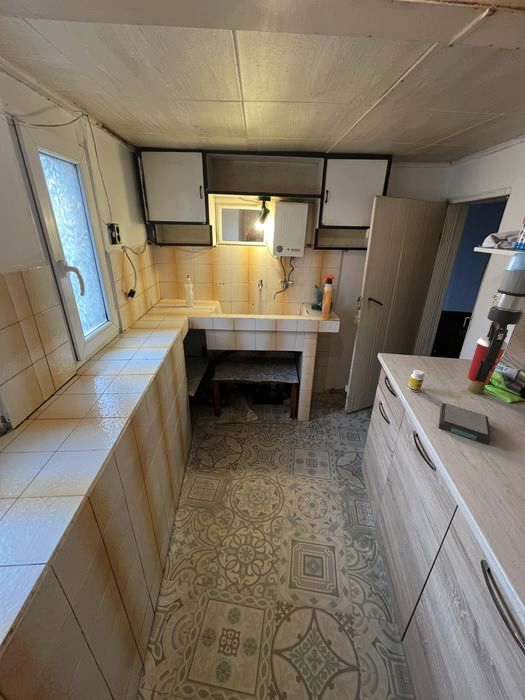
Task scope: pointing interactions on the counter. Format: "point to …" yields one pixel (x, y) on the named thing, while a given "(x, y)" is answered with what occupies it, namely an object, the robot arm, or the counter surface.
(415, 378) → the supplement bottle
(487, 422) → the kitchen scale
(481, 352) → the paper cup
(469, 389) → the cork
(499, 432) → the counter surface
